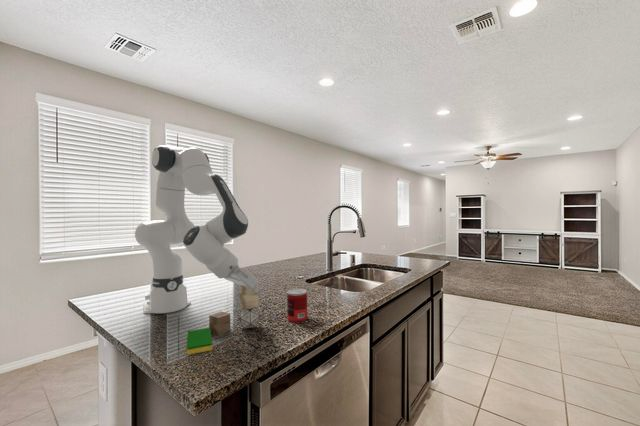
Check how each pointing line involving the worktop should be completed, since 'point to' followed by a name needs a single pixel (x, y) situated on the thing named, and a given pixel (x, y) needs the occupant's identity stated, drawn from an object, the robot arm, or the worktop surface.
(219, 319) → the walnut block
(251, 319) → the game die
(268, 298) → the worktop surface
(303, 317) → the canned food
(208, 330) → the dish sponge
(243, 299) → the maple block
